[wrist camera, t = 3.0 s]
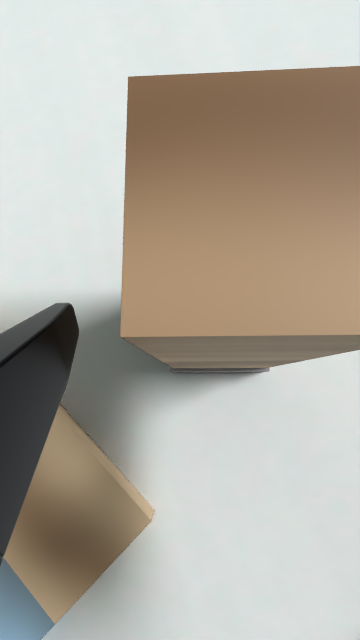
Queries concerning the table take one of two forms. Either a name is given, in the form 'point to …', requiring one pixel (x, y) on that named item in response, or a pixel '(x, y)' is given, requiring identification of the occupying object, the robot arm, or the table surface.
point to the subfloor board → (65, 531)
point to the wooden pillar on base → (242, 218)
